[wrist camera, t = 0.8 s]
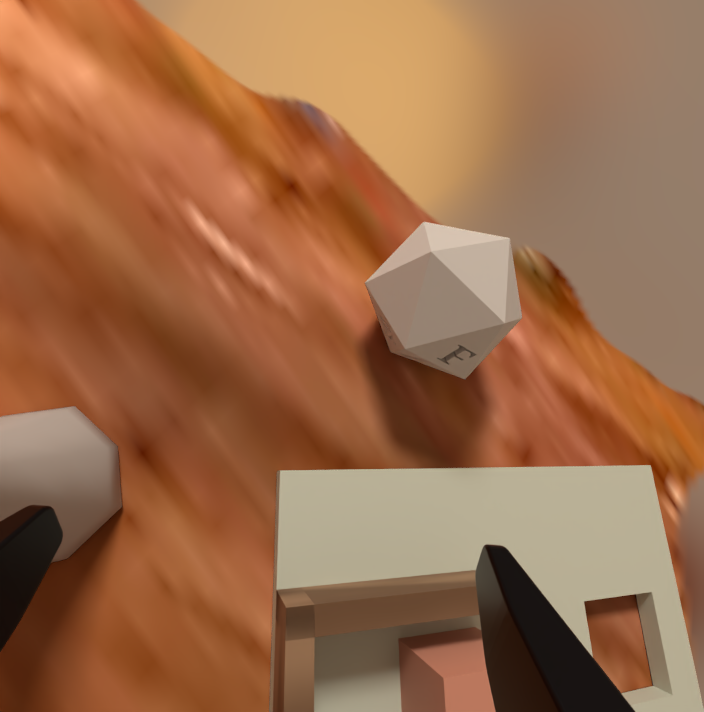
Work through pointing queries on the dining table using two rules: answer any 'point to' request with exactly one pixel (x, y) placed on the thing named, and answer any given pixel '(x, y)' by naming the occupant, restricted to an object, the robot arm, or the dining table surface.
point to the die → (446, 297)
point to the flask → (59, 471)
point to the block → (444, 673)
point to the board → (462, 552)
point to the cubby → (355, 620)
